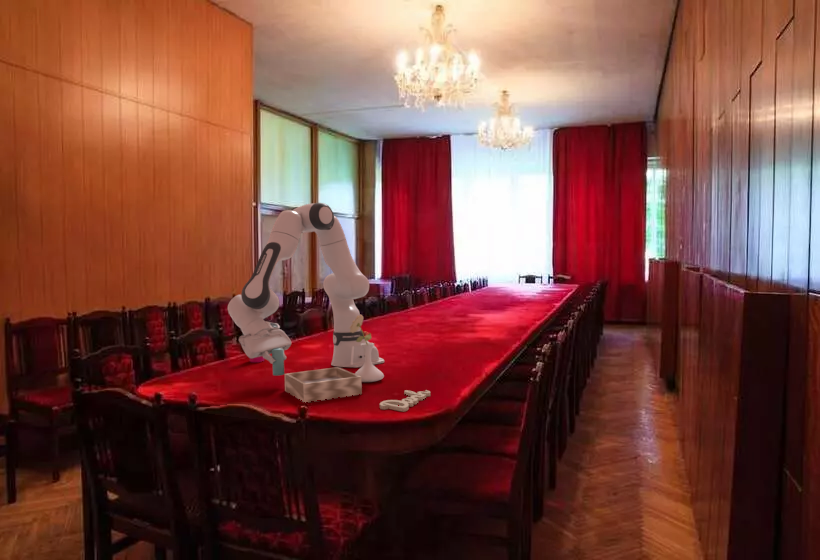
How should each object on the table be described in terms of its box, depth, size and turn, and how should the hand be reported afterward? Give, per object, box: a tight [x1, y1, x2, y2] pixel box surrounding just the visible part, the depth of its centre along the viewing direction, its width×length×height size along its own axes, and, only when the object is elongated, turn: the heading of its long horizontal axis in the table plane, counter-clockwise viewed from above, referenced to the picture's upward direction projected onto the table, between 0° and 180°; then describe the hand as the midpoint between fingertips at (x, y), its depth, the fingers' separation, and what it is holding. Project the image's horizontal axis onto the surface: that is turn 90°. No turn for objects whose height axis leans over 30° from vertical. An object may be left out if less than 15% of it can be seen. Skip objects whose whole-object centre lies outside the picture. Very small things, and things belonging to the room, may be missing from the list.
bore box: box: [284, 366, 363, 404], centre depth 209 cm, size 20×20×6 cm
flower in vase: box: [350, 314, 385, 383], centre depth 224 cm, size 13×11×25 cm
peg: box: [271, 349, 285, 377], centre depth 219 cm, size 4×4×9 cm
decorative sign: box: [379, 389, 431, 413], centre depth 194 cm, size 23×2×10 cm
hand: (279, 360), depth 219 cm, fingers closed on peg, 4 cm apart
